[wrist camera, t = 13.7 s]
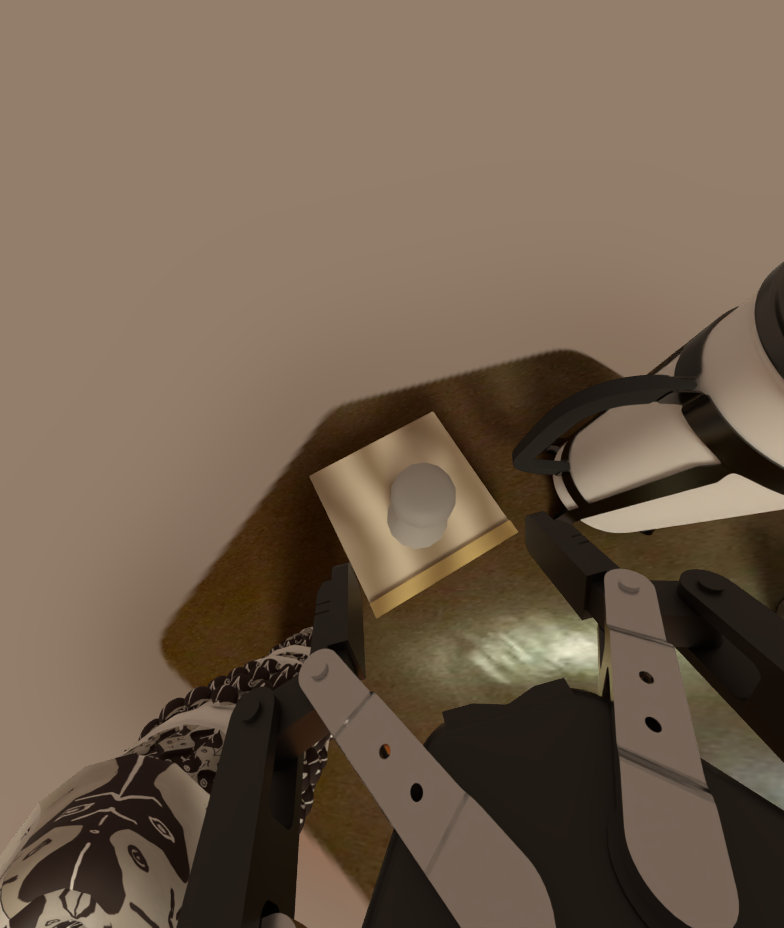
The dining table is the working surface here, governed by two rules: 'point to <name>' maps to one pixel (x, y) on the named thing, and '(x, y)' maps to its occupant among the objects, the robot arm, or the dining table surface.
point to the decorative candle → (138, 814)
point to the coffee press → (677, 430)
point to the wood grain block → (368, 497)
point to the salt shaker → (420, 505)
